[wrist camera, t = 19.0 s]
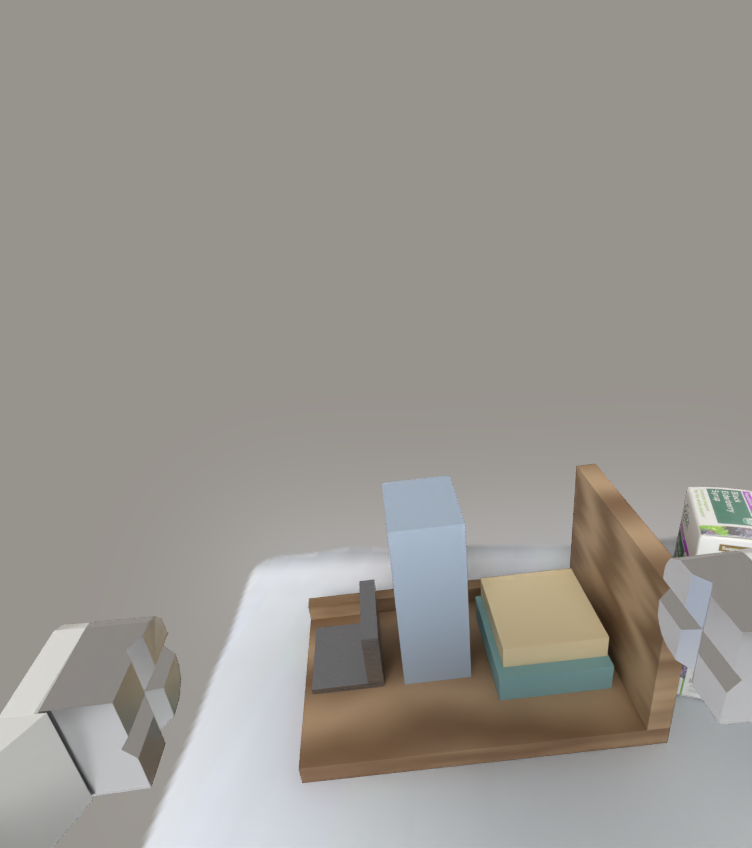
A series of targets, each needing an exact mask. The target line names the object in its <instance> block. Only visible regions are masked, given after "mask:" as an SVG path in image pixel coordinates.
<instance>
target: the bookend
mask: <svg viewBox="0 0 752 848" xmlns="http://www.w3.org/2000/svg"><path fill="white" fill-rule="evenodd" d="M359 583H360V621H361V623H357V624H348V625H339V626H330V627H321V628H316V638H315V653H314V667H313V681H312V693H313V694H321V693H330V692H339V691H348V690H357V689H366V688H375V687H384V686H385V685H384V671H383V656H382V642H381V627H380V619H379V612H378V604H377V597H376V589H375V582H374V580H367V581H359Z"/></svg>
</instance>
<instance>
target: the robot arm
mask: <svg viewBox="0 0 752 848" xmlns="http://www.w3.org/2000/svg"><path fill="white" fill-rule="evenodd" d="M663 579H664V580H665V581H666V583H667V584H668V585H669V587H670V589H669V590H668V591H667V592H666V593H665V594H664V595H663V596H662V597H661V598H660V600H659V608H658V620H659V625H660V630H661V634H662V636H663V638H664V641H665V643H666V645H667V647H668V649H669V650H670V652H671V653H672V655H673V657H674V658H675V660H677V661H678V662H680V663H681V664H683V665H685V666H686V667H688V668H690V669H691V670H693V671H694V674H693V682H692V685H693V687H694V688H695V690H696V691H697V693H698V694H699V696H700V697H701V699H702V700H703V702H704V703H705V704H706V706H707V707H708V709H709V710H710V712H711V713H712V715H713V716H714V718H715V719H716V721H717V722H718V724H731V723H743V722H752V548H748V549H740V550H734V551H727V552H719V553H710V554H702V555H694V556H685V557H677V558H670V559H669V561H668V562H667V564H666V565H665V570H664V575H663ZM167 635H168V632H167V630H166V628H165V625H164V623H163V621H162V618H159V617H155V616H153V617H140V618H129V619H118V620H107V621H95V622H93V623H80V624H68V625H62V626H61V627H59V628H58V629H56V630H55V631H54V632H53V633H52V635H51V636H50V638H49V639H48V641H47V643H46V644H45V646H44V647H43V649H42V650H41V652H40V653H39V655H38V657H37V658H36V660H35V661H34V663H33V664H32V666H31V667H30V669H29V671H28V672H27V674H26V675H25V677H24V678H23V680H22V682H21V683H20V685H19V686H18V688H17V689H16V691H15V693H14V694H13V696H12V697H11V699H10V700H9V702H8V703H7V705H6V707H5V708H4V710H3V711H2V713H1V714H0V848H53V847H54V846H55V845H56V844H57V843H58V841H59V840H60V839H61V837H63V835H64V834H65V833H66V832H67V830H68V829H69V828H70V827H71V826H72V824H73V823H74V822H75V821H76V820H77V819H78V817H79V816H80V815H81V814H82V813H83V811H84V810H85V809H86V808H87V807H88V805H89V804H90V803H91V802H92V801H93V797H92V796H97V795H104V794H111V793H117V792H125V791H132V790H139V789H146V788H151V787H152V784H153V781H154V778H155V775H156V772H157V768H158V765H159V762H160V759H161V756H162V753H163V750H164V747H165V741H164V739H163V736H162V734H161V731H160V730H161V729H162V728H163V727H164V726H165V725H166V724H167V723H168V722H169V721H170V720H171V719H172V718H173V717H174V715H175V712H176V708H177V705H178V702H179V696H180V686H181V685H180V684H181V675H180V668H179V663H178V660H177V657H176V654H175V653H173V652H172V651H171V650H169V649H168V648H166V647H165V646H163V645H164V643H165V640H166V637H167Z"/></svg>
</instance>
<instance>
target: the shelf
mask: <svg viewBox="0 0 752 848" xmlns="http://www.w3.org/2000/svg"><path fill="white" fill-rule="evenodd" d="M670 558H673V557H672V555H671V554H670V553H669V552H668V551H667V549H666V548H665V547H664V546H663V545H662V543H661V542H660V541H659V540H658V539H657V537H656V536H655V535H654V534H653V533H652V531H651V530H650V529H649V528H648V527H647V525H646V524H645V523H644V522H643V521H642V519H641V518H640V517H639V516H638V515H637V513H636V512H635V511H634V510H633V509H632V507H631V506H630V505H629V504H628V503H627V501H626V500H625V499H624V498H623V496H622V495H621V494H620V493H619V492H618V490H617V489H616V488H615V487H614V486H613V484H612V483H611V482H610V481H609V480H608V478H607V477H606V476H605V475H604V474H603V472H602V471H601V470H600V469H599V468H598V466H597V465H596V464H590V465H581V466H577V468H576V482H575V498H574V513H573V529H572V544H571V559H570V568H571V569H572V571H573V573H574V575H575V576H576V578H577V580H578V582H579V584H580V585H581V587H582V589H583V591H584V593H585V594H586V596H587V598H588V600H589V602H590V603H591V605H592V607H593V609H594V611H595V612H596V614H597V616H598V618H599V620H600V622H601V623H602V625H603V627H604V629H605V631H606V632H607V634H608V636H609V644H608V653H607V654H608V656H609V657H610V659H611V661H612V663H613V665H614V672H613V680H612V688H608V689H599V690H590V691H581V692H572V693H563V694H554V695H545V696H536V697H527V698H518V699H509V700H499V697H498V693H497V690H496V686H495V682H494V679H493V675H492V672H491V668H490V665H489V661H488V658H487V654H486V651H485V647H484V644H483V640H482V637H481V633H480V629H479V626H478V622H477V619H476V606H475V597H476V596H481V579H479V580H470V581H468V607H469V633H470V658H471V677H466V678H457V679H448V680H439V681H430V682H421V683H412V684H405V682H404V673H403V665H402V656H401V648H400V639H399V630H398V622H397V613H396V604H395V596H394V589H390V590H381V591H376V597H377V604H378V612H379V619H380V627H381V642H382V656H383V671H384V685H385V686H384V687H375V688H366V689H357V690H348V691H339V692H330V693H321V694H313V693H312V681H313V667H314V653H315V638H316V628H321V627H330V626H339V625H348V624H357V623H361V621H360V593H355V594H346V595H337V596H328V597H319V598H310V599H309V612H310V617H311V628H310V640H309V652H308V664H307V676H306V689H305V701H304V713H303V725H302V737H301V749H300V761H299V771H300V775H301V779H302V783H306V782H315V781H324V780H333V779H342V778H351V777H360V776H369V775H378V774H387V773H396V772H405V771H414V770H423V769H432V768H441V767H450V766H459V765H468V764H477V763H486V762H495V761H504V760H513V759H522V758H531V757H540V756H549V755H558V754H567V753H576V752H585V751H594V750H603V749H612V748H621V747H630V746H639V745H648V744H658V743H667V740H668V735H669V730H670V725H671V720H672V715H673V710H674V705H675V700H676V695H677V690H678V685H679V680H680V675H681V670H682V665H683V664H681V663H680V662H678V661H677V660H675V658H674V657H673V655H672V653H671V652H670V650H669V649H668V647H667V645H666V643H665V641H664V638H663V636H662V634H661V630H660V625H659V620H658V608H659V600H660V598H661V597H662V596H663V595H664V594H665V593H666V592H667V591H668V590H669V589H670V587H669V585H668V584H667V583H666V581H665V580H664V579H663V575H664V570H665V565H666V564H667V562H668V561H669V559H670Z"/></svg>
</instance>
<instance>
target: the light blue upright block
mask: <svg viewBox="0 0 752 848" xmlns="http://www.w3.org/2000/svg"><path fill="white" fill-rule="evenodd" d="M382 488H383V497H384V506H385V516H386V526H387V534H388V543H389V552H390V561H391V570H392V578H393V587H394V596H395V604H396V613H397V622H398V630H399V639H400V648H401V656H402V665H403V673H404V682H405V684H412V683H421V682H430V681H439V680H448V679H457V678H466V677H471V658H470V633H469V607H468V581H467V556H466V531H465V522H464V518H463V515H462V512H461V509H460V506H459V503H458V500H457V497H456V494H455V491H454V488H453V485H452V482H451V479H450V476H441V477H431V478H422V479H414V480H405V481H396V482H387V483H382Z"/></svg>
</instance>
